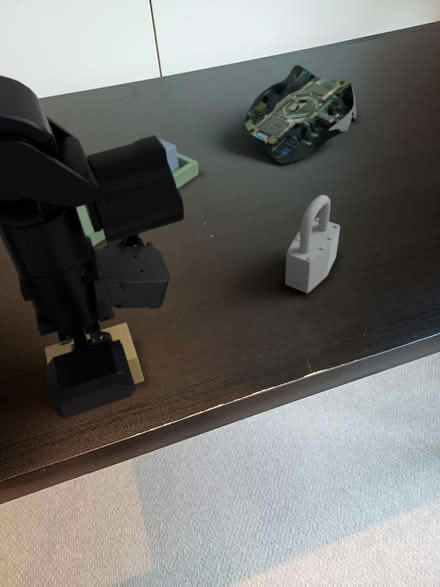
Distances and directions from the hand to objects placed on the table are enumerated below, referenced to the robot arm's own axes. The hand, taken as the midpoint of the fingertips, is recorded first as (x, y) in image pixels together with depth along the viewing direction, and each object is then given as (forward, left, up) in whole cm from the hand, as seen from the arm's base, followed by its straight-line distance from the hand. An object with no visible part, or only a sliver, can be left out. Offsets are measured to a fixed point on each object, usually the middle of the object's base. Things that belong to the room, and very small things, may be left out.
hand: (97, 370), depth 52 cm
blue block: (+26, +20, 0) cm, 33 cm away
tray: (+22, +20, -1) cm, 30 cm away
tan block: (0, 0, -1) cm, 1 cm away
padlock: (+25, -8, -1) cm, 26 cm away
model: (+50, +10, -1) cm, 51 cm away
